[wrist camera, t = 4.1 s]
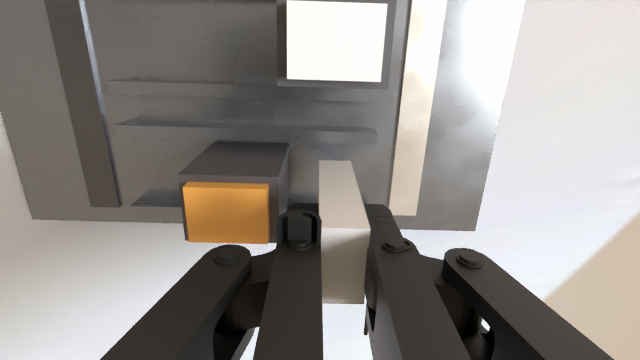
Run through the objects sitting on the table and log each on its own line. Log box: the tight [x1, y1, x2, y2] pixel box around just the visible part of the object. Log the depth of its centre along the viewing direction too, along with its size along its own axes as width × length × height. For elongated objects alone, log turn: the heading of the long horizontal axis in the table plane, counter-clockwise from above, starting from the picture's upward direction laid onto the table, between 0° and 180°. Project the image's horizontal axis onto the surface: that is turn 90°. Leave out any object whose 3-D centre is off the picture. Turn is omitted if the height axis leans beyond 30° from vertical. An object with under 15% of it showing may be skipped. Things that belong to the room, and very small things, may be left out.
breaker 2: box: [276, 0, 397, 89], centre depth 14 cm, size 4×3×6 cm
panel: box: [0, 0, 525, 231], centre depth 17 cm, size 26×20×2 cm
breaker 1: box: [177, 142, 289, 244], centre depth 16 cm, size 4×3×6 cm
